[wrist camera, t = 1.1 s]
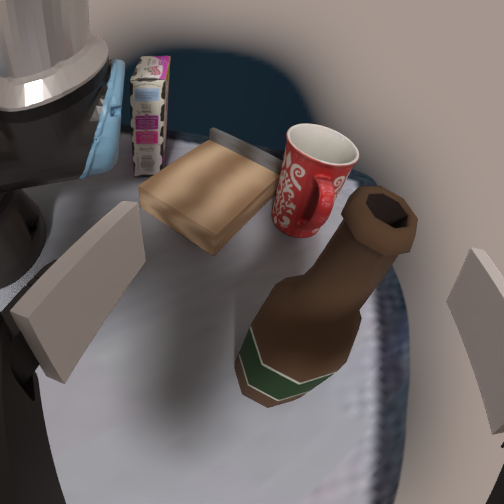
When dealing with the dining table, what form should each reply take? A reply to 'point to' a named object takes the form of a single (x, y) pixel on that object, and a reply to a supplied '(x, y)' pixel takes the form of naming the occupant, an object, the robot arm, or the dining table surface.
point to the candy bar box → (149, 114)
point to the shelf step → (212, 190)
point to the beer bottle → (324, 301)
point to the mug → (311, 178)
